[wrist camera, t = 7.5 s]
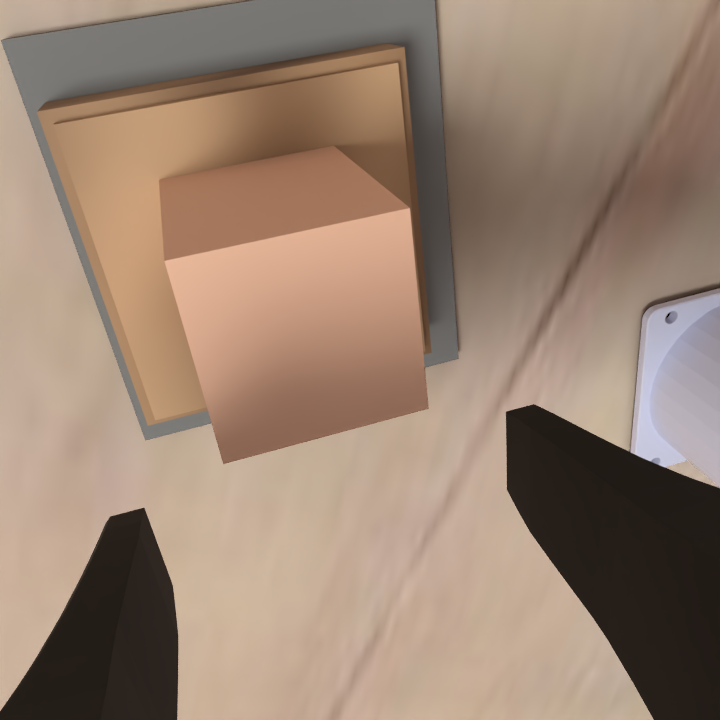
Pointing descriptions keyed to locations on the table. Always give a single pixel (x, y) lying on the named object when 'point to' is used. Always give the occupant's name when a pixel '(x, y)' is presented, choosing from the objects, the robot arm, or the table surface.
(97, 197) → the pedestal
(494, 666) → the table surface
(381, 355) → the block
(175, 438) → the table surface
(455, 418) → the table surface
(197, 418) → the mat
